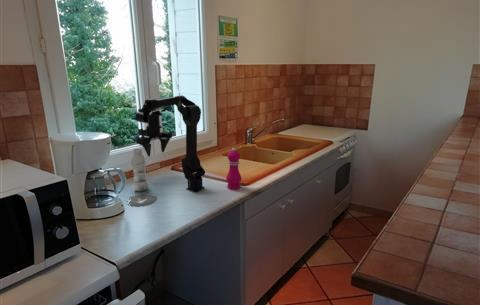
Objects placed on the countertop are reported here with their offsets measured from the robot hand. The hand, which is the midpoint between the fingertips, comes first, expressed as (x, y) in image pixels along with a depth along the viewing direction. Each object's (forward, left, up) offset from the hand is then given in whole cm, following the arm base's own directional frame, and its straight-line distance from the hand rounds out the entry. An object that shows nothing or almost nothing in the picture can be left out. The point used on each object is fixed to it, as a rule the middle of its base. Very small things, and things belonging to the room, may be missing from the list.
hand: (156, 154), depth 162 cm
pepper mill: (-40, -12, -13) cm, 44 cm away
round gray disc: (-15, +23, -13) cm, 30 cm away
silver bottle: (-6, +16, -13) cm, 21 cm away
